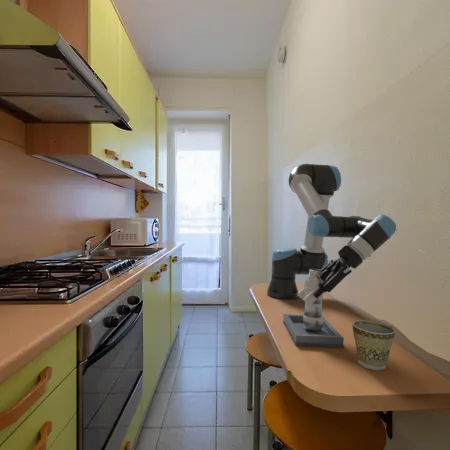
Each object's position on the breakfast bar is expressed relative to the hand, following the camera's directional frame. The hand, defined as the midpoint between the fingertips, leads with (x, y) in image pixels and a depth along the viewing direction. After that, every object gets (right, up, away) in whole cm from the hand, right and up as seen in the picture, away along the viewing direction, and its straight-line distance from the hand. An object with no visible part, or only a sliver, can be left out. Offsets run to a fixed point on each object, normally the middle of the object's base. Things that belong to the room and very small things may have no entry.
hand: (303, 299), depth 99 cm
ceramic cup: (+14, -12, -20) cm, 27 cm away
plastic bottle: (+3, -10, 0) cm, 11 cm away
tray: (+2, -11, -1) cm, 11 cm away
